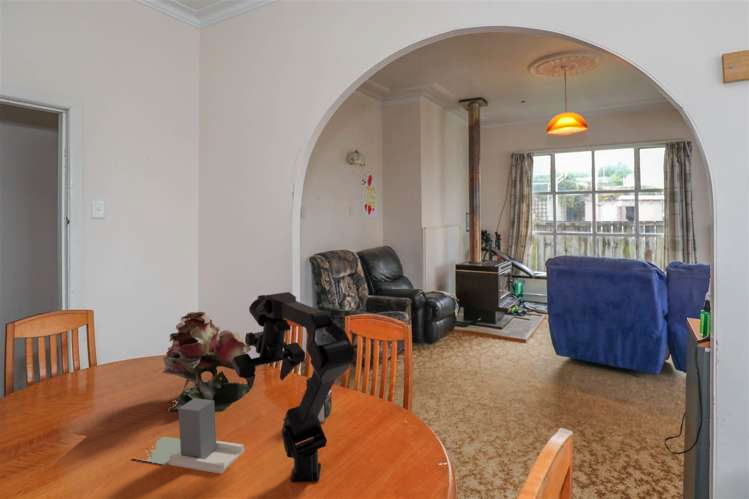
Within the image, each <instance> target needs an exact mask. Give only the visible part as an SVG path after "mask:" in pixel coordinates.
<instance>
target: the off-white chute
mask: <svg viewBox="0 0 749 499" xmlns="http://www.w3.org/2000/svg"><path fill="white" fill-rule="evenodd" d="M216 447H217V448H216V449H215V450H214V451H213V452H212V453H211V454H209V455H208V456H207V457H206V458H205V459H200V458H194V457H188V456H182V455H181V453H179V454H178V455H176V454H172V455H171V456H170V461H169V462H168V465H169V466H174V467H181V468H187V469H190V470H191V469H192V470H196V471H203V472H209V473H215V474H221V475H222V474H223V473H224V471H226V470H227V469H228V468H229V467H230V466H231V465H232V464H233V463H234V462H235V461H236V460H237V459H238V458H239V457H240V456H241V455H242V454H243V453H244V452H245V448H244V444H243V443H242V444H241V443H235V442H228V441H222V440H216Z"/></svg>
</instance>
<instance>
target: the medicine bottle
mask: <svg viewBox="0 0 749 499" xmlns="http://www.w3.org/2000/svg"><path fill="white" fill-rule="evenodd" d="M311 377H312V376H310V377H309V378H307V379H306V388H307V387H308V384H309V382H310V380H311ZM302 398H303V396H302ZM302 398H301V399H302ZM332 401H333V400H332V389H331V390H330V392H329V394H328V396H327V398H326V400H325V402H324V404H323V407H322V409H321V411H320V413H319V415H318V418H319V420H320V422H321V423H325V422H326V421H327V420H328V417H329V416H330V414H331V413H332V411H333V410H332V409H333V408H332V407H333V405H332Z"/></svg>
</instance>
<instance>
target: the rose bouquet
mask: <svg viewBox="0 0 749 499" xmlns="http://www.w3.org/2000/svg"><path fill="white" fill-rule="evenodd" d="M175 326H176V327H175V329H176V330H177V331H178V332H173V333H170V335H169V340H168V342H172V343H171V346H170V347H167V350H168V351H166V354H165V356H163V357H162V358H163V359H162V361H163V362H164V366H165V368H164V370H163V371H161V372H162V374H166V375H167V374H168V375H173V376H177V377H180V378H183V379H185V380H186V381H185V383H184V387H183V391H181V393H180V395H179V396H177V397H176V398H177V399H176V398H175V399H176V401H178V403H177V405H176V406H174V407H171V408H170V409H169V411H168V412H170V411H171V410H172V411H174V410H178V408H180V407H181V406H183V405H185V404H186V403H188V402H189V401H191V400H192V399H194V398H197V399H206V400H214V406H215V416H217V415H218V413H222V412H223V411H225V410H227V409H228V408H229V407H230V406H231V405H232V404H233V403H234V402H235V401H237V400H239V399H241V398H243V397H244V396H245V395H246V393H247V391H249V390H251V389H249V387H248V384H247V383H245V382H244V381H243V382H242V383H240V382H235V381H232V382H229V381H230V380H229V378H227V376H226V375H225V373H224V371H223V370H221V371H220V372H218V369H217V368H218V367H219V368H220V367H222V368H227V369H230V370H234V371H235V369H234V368H233V366H232V359H233V358H234V357H235V356H239V355H243V354H248V353H249V352H250V351H251V350H252V346H248V345H246V343H245V342H244V341H245V338H242V337H241V335H240V334H239V333H238V332H237V331H232V330H231V329H225V330H222V331H221V329H220V327H219V326H216V325H215V323H214V322H213V320H212V319H210V316H209V315H207V314H206V312H204V311H202V310H201V311H196V312H195V311H194V312H193V311H192V312H187V314H185V315H184V316H181V317H180V322H179V323H178V324H176V325H175ZM206 372H207V373H208V372H209V373H210V374H212V375H211V376H212V377H211V378H210V379H209V380H203V379H202V374H204V373H206ZM204 379H207V377H205V378H204ZM189 382H192V383H193V384H192V386H194V387H191V386H189V387H191V388H190V389H189V387H187V386H188V384H189ZM186 387H187V388H186ZM187 390H190V391H188V392H186V391H187Z"/></svg>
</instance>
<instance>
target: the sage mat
mask: <svg viewBox="0 0 749 499" xmlns="http://www.w3.org/2000/svg"><path fill="white" fill-rule="evenodd" d="M155 442H157V443H156V449H155V450H154V449H153V450H150V451H151V452H152V453H153V454H148V455H147V456H149V455H152V458H151V456H150V457H147V458H149V459H147V460H143V459H142V461H148V462H152V463H151V464H154V463H157V464H156V465H159V464H161V465H160V466H166V465H167V464H169V462H170V456H171V455H172V454H176V455H179V454H180V452H181V446H180V438H177V437H171V436H170V437H169V436H163V437H161V438H159V439H158V440H156V441H155ZM152 448H153V446H152ZM146 452H147V453H148V451H146ZM135 459H136V458H135ZM142 461H141V462H142ZM148 462H147V463H148ZM166 463H167V464H166Z"/></svg>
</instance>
